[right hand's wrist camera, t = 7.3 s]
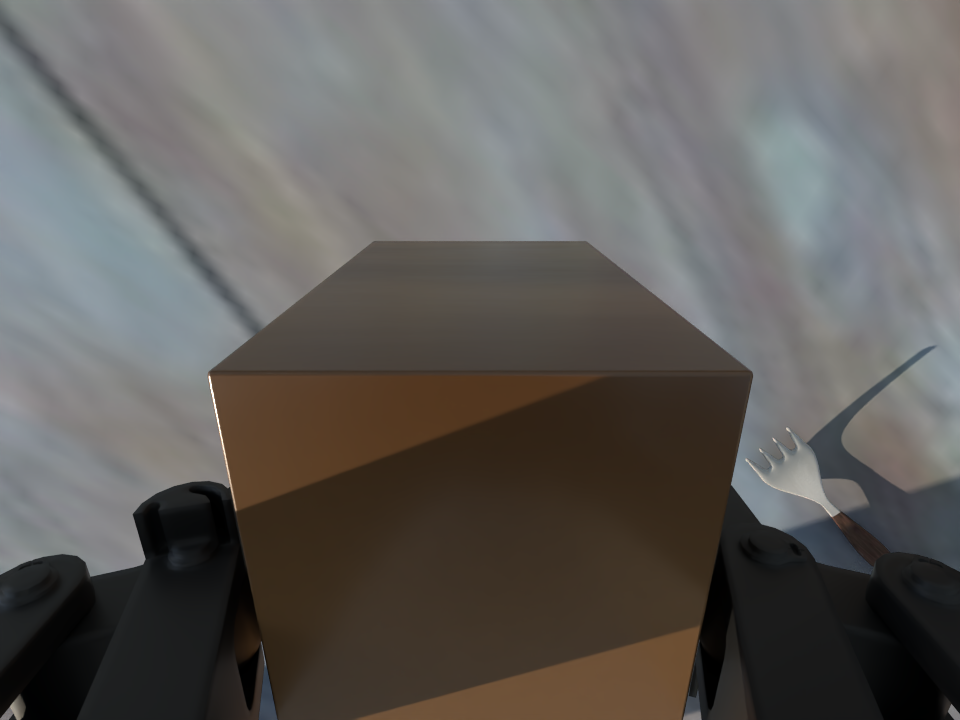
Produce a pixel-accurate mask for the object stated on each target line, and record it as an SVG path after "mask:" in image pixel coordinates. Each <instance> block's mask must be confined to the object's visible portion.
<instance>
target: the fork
mask: <svg viewBox="0 0 960 720" xmlns="http://www.w3.org/2000/svg"><path fill="white" fill-rule="evenodd" d="M786 429H787V430H788V432H789V434H790V436H791V438H792V440H793V442H794V443H795V446H796V447H795V449H793V450H790V449H788V448H787V447H785V446H784V445H783V444H782V443H780V442H779V441H778V440H776V439H775V438H773V440H774V442H775V443H776V445H777V447H778V448H779V450H780V451H781V453H782V455H783V457H782V458H781V459H779V460H778V459H776V458H774V457H773V456H771V455H770V454H769V453H767V452H766V451H764V450H762V449H761V448H759V449H760V451H761V453H762V454H763V455H764V457H765V458H766V460H767V461H768V462H769V464H770V467H769V468H768V469H764V468H762V467H761V466H759V465H757V464H756V463H754V462H752V461H751V460H749V459H748V458H746V461H747V462H748V463H749V464H750V465H751V467H752V468H753V469H754V470H755V471H756V472H757V473H758V475H759V476H760V477H761V478H762V480H763V481H764V482H765V483H767V484H768V485H770V486H771V487H773V488H776V489H778V490H781V491H784V492H787V493H791V494H794V495H798V496H801V497H804V498H807V499H810V500H813V501H815V502H817V503H819V504H820V505H822V506H823V507H824V508H825V510H826V511H827V512H828V513H829V515H830V516H831V517H832V519H833V520H834V521H835V523H836V524H837V525H838V527H839V528H840V530H841V531H842V532H843V534H844V535H845V536H846V538H847V539H848V540H849V542H850V543H851V544H852V546H853V547H854V548H855V549H856V551H857V552H858V553H859V554H860V555H861V556H862V557H863V558H864V559H865V560H866V561H867V562H868V563H869V564H870V565H872V566H873V567H874V564H875V561H876V560H877V559H878V558H879V557H881V556H882V555H883V554H887V553H890V552H889V551H888V550H887V548H886V547H885V546H884V545H883V544H882V543H880V542H879V541H878V540H877V539H876V538H875V537H873V536H872V535H871V534H870V533H869V532H867V531H866V530H865V529H863V528H862V527H861V526H860V525H858V524H857V523H856V522H854V521H853V520H852V519H850V518H849V517H848V516H847V515H845V514H844V513H843V512H841V511H840V510H839V509H837V508H836V507H835V506H834V505H833V504H832V503H831V502H830V501H829V500H828V499H827V497H826V495H825V493H824V489H823V485H822V481H821V475H820V470H819V465H818V461H817V458H816V455H815V453H814V451H813V450H812V448H811V447H810V446H809V445H808V444H806V443H805V442H804V441H803V440H802V439H801V438H800V437H799V436H798V435H796V434H795V433H794V432H793V431H792V430H791V429H790V428H789V427H786Z"/></svg>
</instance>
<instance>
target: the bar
mask: <svg viewBox="0 0 960 720" xmlns="http://www.w3.org/2000/svg"><path fill="white" fill-rule="evenodd" d="M752 379H753V373H752V371H751V370H749V369H748V368H747V367H746V366H744V365H743V364H742V363H740V362H739V361H738V360H737V359H735V358H734V357H733V356H732V355H730V354H729V353H728V352H726V351H725V350H724V349H723V348H721V347H720V346H719V345H718V344H716V343H715V342H714V341H712V340H711V339H710V338H709V337H707V336H706V335H705V334H704V333H702V332H701V331H700V330H698V329H697V328H696V327H695V326H693V325H692V324H691V323H690V322H688V321H687V320H686V319H685V318H683V317H682V316H681V315H679V314H678V313H677V312H676V311H674V310H673V309H672V308H671V307H669V306H668V305H667V304H665V303H664V302H663V301H662V300H660V299H659V298H658V297H657V296H655V295H654V294H653V293H651V292H650V291H649V290H648V289H646V288H645V287H644V286H643V285H641V284H640V283H639V282H638V281H636V280H635V279H634V278H632V277H631V276H630V275H629V274H627V273H626V272H625V271H624V270H622V269H621V268H620V267H618V266H617V265H616V264H615V263H613V262H612V261H611V260H610V259H608V258H607V257H606V256H604V255H603V254H602V253H601V252H599V251H598V250H597V249H596V248H594V247H593V246H592V245H591V244H589V243H588V242H586V241H374V242H372V243H371V244H370V245H369V246H367V247H366V248H365V249H363V250H362V251H361V252H360V253H358V254H357V255H356V256H355V257H353V258H352V259H351V260H350V261H348V262H347V263H346V264H344V265H343V266H342V267H341V268H339V269H338V270H337V271H336V272H334V273H333V274H332V275H331V276H329V277H328V278H327V279H325V280H324V281H323V282H322V283H320V284H319V285H318V286H317V287H315V288H314V289H313V290H311V291H310V292H309V293H308V294H306V295H305V296H304V297H303V298H301V299H300V300H299V301H298V302H296V303H295V304H294V305H292V306H291V307H290V308H289V309H287V310H286V311H285V312H284V313H282V314H281V315H280V316H279V317H277V318H276V319H275V320H273V321H272V322H271V323H270V324H268V325H267V326H266V327H265V328H263V329H262V330H261V331H260V332H258V333H257V334H256V335H254V336H253V337H252V338H251V339H249V340H248V341H247V342H246V343H244V344H243V345H242V346H240V347H239V348H238V349H237V350H235V351H234V352H233V353H232V354H230V355H229V356H228V357H227V358H225V359H224V360H223V361H221V362H220V363H219V364H218V365H216V366H215V367H214V368H213V369H211V370H210V371H209V372H208V380H209V385H210V390H211V395H212V400H213V405H214V410H215V415H216V420H217V424H218V429H219V434H220V439H221V444H222V449H223V454H224V459H225V464H226V469H227V473H228V478H229V483H230V488H231V493H232V498H233V503H234V508H235V513H236V518H237V523H238V527H239V532H240V537H241V542H242V547H243V552H244V557H245V562H246V567H247V572H248V577H249V581H250V586H251V591H252V596H253V601H254V606H255V611H256V616H257V621H258V626H259V630H260V635H261V640H262V645H263V650H264V655H265V660H266V665H267V670H268V675H269V680H270V684H271V689H272V694H273V699H274V704H275V709H276V714H277V719H278V720H683V716H684V711H685V707H686V702H687V697H688V692H689V687H690V682H691V677H692V672H693V667H694V663H695V658H696V653H697V648H698V643H699V638H700V633H701V628H702V623H703V619H704V614H705V609H706V604H707V599H708V594H709V589H710V584H711V579H712V574H713V570H714V565H715V560H716V555H717V550H718V545H719V540H720V535H721V530H722V526H723V521H724V516H725V511H726V506H727V501H728V496H729V491H730V486H731V482H732V477H733V472H734V467H735V462H736V457H737V452H738V447H739V442H740V438H741V433H742V428H743V423H744V418H745V413H746V408H747V403H748V398H749V393H750V389H751V384H752Z"/></svg>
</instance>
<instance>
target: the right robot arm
mask: <svg viewBox="0 0 960 720" xmlns="http://www.w3.org/2000/svg"><path fill="white" fill-rule="evenodd" d="M133 517H134V520H135V524H136V527H137V531H138V534H139V537H140V541H141V544H142V548H143V551H144V555H145V558H146V560H145V562H144V565H141V566H137V567H134V568H129V569H125V570H120V571H115V572H111V573H106V574H102V575H97V576H92V577H90V575H89V572H88V569H87V566H86V563H85V562H84V561H83V560H82V559H80V558H79V557H78V556H72V555H65V554H61V555H54V556H47V557H42V558H38V559H35V560H33V561H28V562H26V563H23V564H20V565H19V566H17V567H15V568H13V569H11V570H9V571H7V572H5V573H3V574H1V575H0V718H1V717H2V715H3V714H4V713H5V712H6V711H7V709H8V708H9V707H11V709H12V711H13V713H14V714H13V715H12V716H11V718H10V719H9V720H259V710H260V701H261V692H262V682H263V673H264V664H265V663H264V656H263V650H262V645H261V641H262V640H261V635H260V630H259V626H258V621H257V616H256V611H255V606H254V601H253V596H252V591H251V586H250V581H249V577H248V572H247V567H246V562H245V557H244V552H243V547H242V542H241V537H240V532H239V527H238V523H237V518H236V513H235V508H234V503H233V498H232V493H231V488H230V487H229V488H226V487H225V486H224V485H223V484H220V483H215V482H211V481H202V482H190V483H186V484H182V485H177V486H174V487H171V488H169V489H166V490H164V491H162V492H159V493H157V494H155V495H154V496H152V497H151V498H149V499H148V500H146V501H145V502H143V503H142V504H141V505H140V506H139V507H138V509H137V510H136V511H135V512H134V513H133ZM697 690H699V700H700V709H701V718H702V720H954V719H953V718H952V717H951V715H950V714H949V713H948V710H949V708H950V706H951V704H952V705H953V706H954V707H955V708H956V710H957V711H958V712H959V713H960V572H959V571H957V570H955V569H953V568H951V567H949V566H947V565H945V564H943V563H942V562H939V561H936V560H934V559H929V558H928V557H924V556H920V555H916V554H909V553H902V552H895V553H887V554H883V555H882V556H881V557H879V558H878V559H877V560H876V561H875V564H874V567H873V570H872V573H871V575H869V574H865V573H860V572H855V571H851V570H846V569H841V568H837V567H832V566H828V565H824V564H821V563H817V562H816V561H815V559H814V557H813V556H812V555H811V553H810V552H809V550H808V549H807V548H806V547H805V546H804V545H803V544H802V543H800V542H799V541H798V540H796V539H795V538H794V537H792V536H791V535H788V534H786V533H784V532H782V531H780V530H778V529H776V528H773V527H769V526H765V525H762V524H761V523H760V522H759V521H758V519H757V518H756V517H755V515H754V514H753V513H752V512H751V510H750V509H749V508H748V506H747V505H746V504H745V502H744V501H743V500H742V498H741V497H740V496H739V495H738V493H737V492H736V491H735V489H734V488H733V487H732V485H731V486H730V491H729V496H728V501H727V506H726V511H725V516H724V521H723V526H722V530H721V535H720V540H719V545H718V550H717V555H716V560H715V565H714V570H713V574H712V579H711V584H710V589H709V594H708V599H707V604H706V609H705V614H704V619H703V623H702V628H701V633H700V638H699V645H698V650H697V655H696V660H695V665H694V670H693V675H692V680H691V685H690V691H689V696H692V697H696V695H697Z"/></svg>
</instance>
